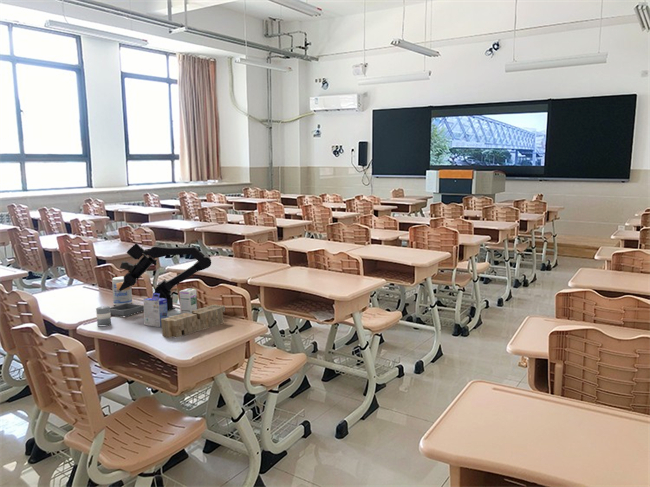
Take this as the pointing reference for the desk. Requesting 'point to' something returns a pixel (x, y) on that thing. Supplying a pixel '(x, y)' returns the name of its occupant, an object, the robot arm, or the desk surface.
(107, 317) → the cylinder
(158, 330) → the desk surface
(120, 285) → the snap cap
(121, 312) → the lid tray
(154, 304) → the ink cartridge box
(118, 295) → the supplement tub
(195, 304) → the syrup box
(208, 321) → the block tower
